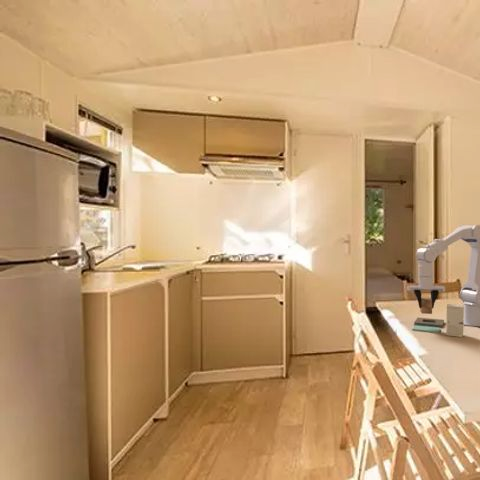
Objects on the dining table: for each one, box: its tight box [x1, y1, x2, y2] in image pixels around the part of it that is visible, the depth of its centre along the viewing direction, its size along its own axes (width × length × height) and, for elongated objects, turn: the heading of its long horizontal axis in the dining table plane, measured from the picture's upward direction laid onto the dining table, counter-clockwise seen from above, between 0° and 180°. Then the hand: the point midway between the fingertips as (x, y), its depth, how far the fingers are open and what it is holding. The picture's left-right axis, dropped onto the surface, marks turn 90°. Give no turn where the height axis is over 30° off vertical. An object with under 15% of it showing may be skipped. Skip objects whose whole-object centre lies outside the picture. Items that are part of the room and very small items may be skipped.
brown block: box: [419, 297, 433, 315], centre depth 165 cm, size 4×4×6 cm
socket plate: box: [413, 317, 445, 329], centre depth 173 cm, size 11×11×1 cm
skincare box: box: [445, 303, 464, 338], centre depth 154 cm, size 6×4×12 cm
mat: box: [411, 324, 441, 334], centre depth 163 cm, size 10×7×1 cm
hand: (426, 307), depth 165 cm, fingers closed on brown block, 4 cm apart
